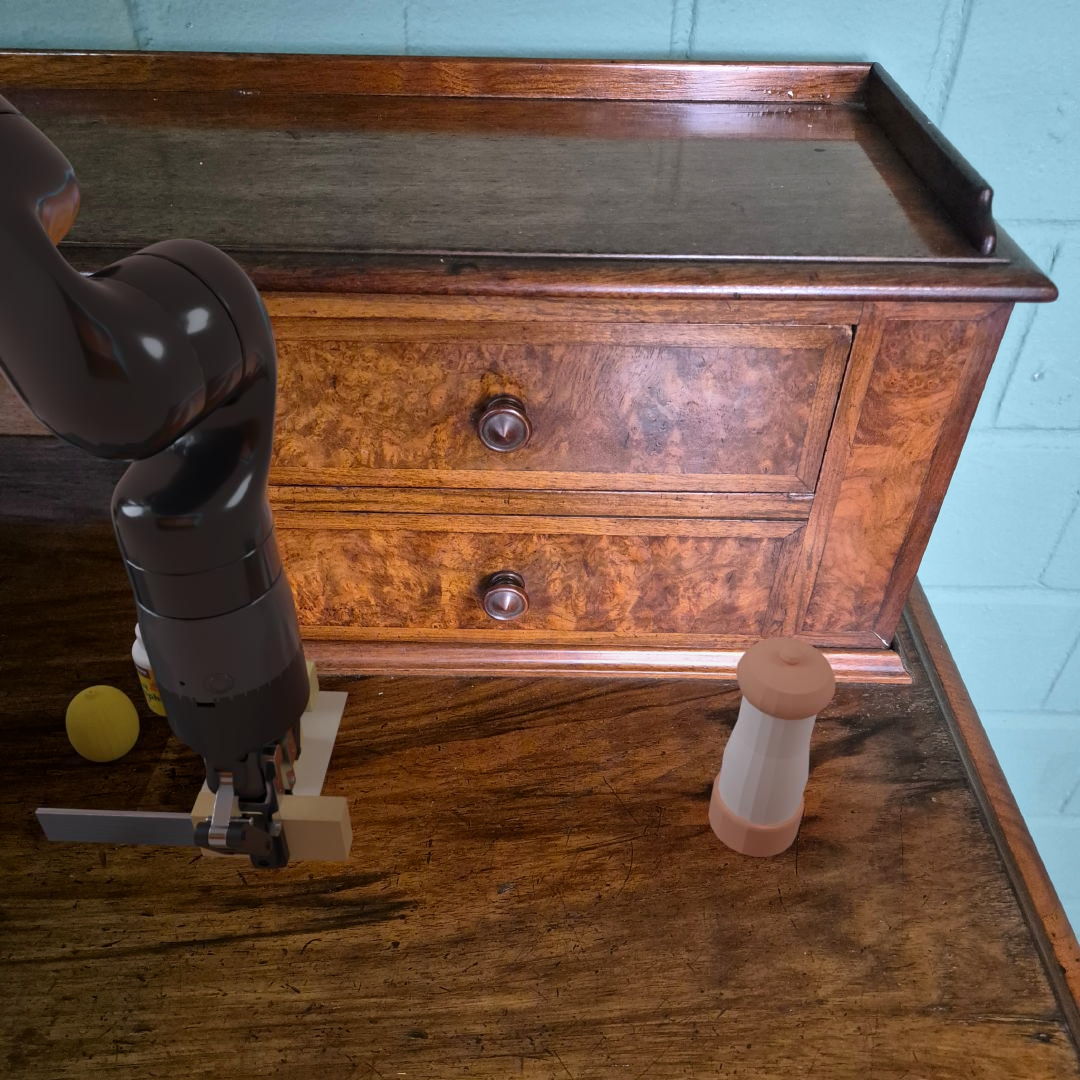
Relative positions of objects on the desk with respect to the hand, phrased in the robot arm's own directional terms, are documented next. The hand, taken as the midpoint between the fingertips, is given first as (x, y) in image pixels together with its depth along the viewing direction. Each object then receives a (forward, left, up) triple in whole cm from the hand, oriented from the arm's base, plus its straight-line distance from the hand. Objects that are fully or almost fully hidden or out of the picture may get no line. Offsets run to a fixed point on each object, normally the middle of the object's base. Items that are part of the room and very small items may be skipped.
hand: (276, 846), depth 59 cm
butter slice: (-7, +25, -13) cm, 29 cm away
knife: (-5, 0, 0) cm, 5 cm away
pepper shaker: (+34, +14, -14) cm, 39 cm away
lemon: (-21, +18, -14) cm, 32 cm away
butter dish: (-7, +20, -14) cm, 25 cm away
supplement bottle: (-17, +24, -14) cm, 33 cm away
